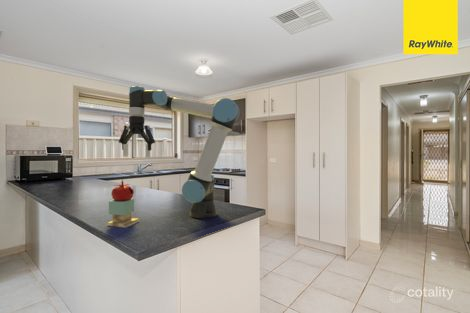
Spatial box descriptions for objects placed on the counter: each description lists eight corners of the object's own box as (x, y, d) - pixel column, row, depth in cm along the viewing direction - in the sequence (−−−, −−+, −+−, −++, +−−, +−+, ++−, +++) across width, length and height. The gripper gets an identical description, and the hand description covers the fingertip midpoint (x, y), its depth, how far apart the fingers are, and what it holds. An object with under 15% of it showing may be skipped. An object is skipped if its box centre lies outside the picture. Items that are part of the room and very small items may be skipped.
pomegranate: (113, 203, 113) (113, 183, 112) (109, 199, 121) (109, 180, 121) (136, 200, 119) (135, 181, 118) (131, 197, 127) (130, 179, 126)
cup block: (134, 211, 123) (134, 198, 123) (123, 215, 115) (123, 202, 115) (120, 210, 125) (120, 198, 125) (108, 214, 117) (108, 201, 117)
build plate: (138, 221, 124) (139, 210, 124) (125, 227, 114) (125, 215, 114) (121, 219, 127) (121, 209, 126) (107, 225, 117) (107, 214, 117)
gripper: (161, 116, 130) (161, 156, 131) (121, 117, 136) (121, 155, 137) (153, 114, 123) (153, 157, 123) (111, 115, 129) (111, 156, 129)
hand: (136, 156), depth 130 cm, fingers open, 13 cm apart
